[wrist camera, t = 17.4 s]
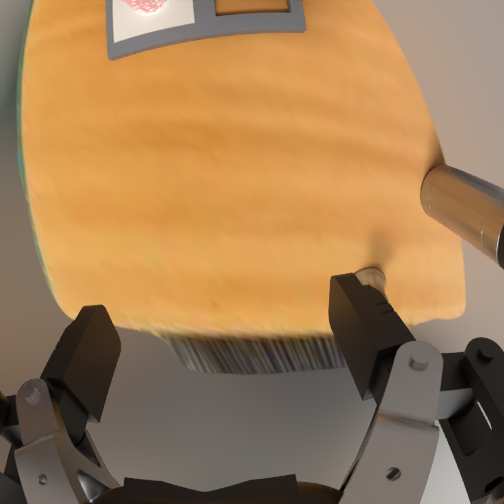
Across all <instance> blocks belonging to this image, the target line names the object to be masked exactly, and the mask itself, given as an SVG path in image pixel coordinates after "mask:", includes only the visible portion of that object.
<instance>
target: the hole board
mask: <svg viewBox="0 0 504 504" xmlns="http://www.w3.org/2000/svg"><path fill="white" fill-rule="evenodd" d="M287 6H288V12H289V13H285V12H277V13H248V14H235V15H225V16H216V14H215V5H214V0H169V2H168V4H167V6H166V7H165V8H164V9H163V10H161V11H159V12H158V13H156V14H152V15H141V14H139V13H137V12H136V11H134V10H133V9H132V8H131V7H129V6H128V5H127V4H125V3H124V2H123V1H121V0H106V29H107V48H108V59H110V60H112V61H113V60H116V59H119V58H122V57H126V56H129V55H132V54H136V53H140V52H143V51H147V50H151V49H155V48H159V47H164V46H168V45H173V44H178V43H183V42H188V41H194V40H200V39H206V38H214V37H221V36H230V35H241V34H255V33H286V32H291V33H303V32H304V31H306V24H305V17H304V11H303V6H302V0H287Z"/></svg>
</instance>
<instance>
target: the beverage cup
mask: <svg viewBox="0 0 504 504" xmlns="http://www.w3.org/2000/svg"><path fill="white" fill-rule="evenodd" d="M121 1H123V2H124V3H125V4H127V5H128V6H129V7H131V8H132V9H133V10H134V11H136V12H137V13H139V14H141V15H152V14H156V13H158V12H159V11H161V10H163V9H164V8H165V7H166V6H167V4H168V2H169V0H121Z"/></svg>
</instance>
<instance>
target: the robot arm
mask: <svg viewBox="0 0 504 504" xmlns="http://www.w3.org/2000/svg"><path fill="white" fill-rule="evenodd" d="M421 202H422V206H423V209H424V211H425V212H426V214H428V215H429V216H430V217H431V218H433V219H435V220H436V221H438V222H439V223H441V224H442V225H444V226H445V227H447V228H448V229H450V230H451V231H453V232H454V233H455V234H457V235H458V236H460V237H461V238H463V239H464V240H465V241H467V242H468V243H470V244H471V245H472V246H474V247H475V248H476V249H478V250H479V251H481V252H482V253H483V254H485V255H486V256H487V257H489V258H490V259H491V260H493V261H494V262H495V263H496V264H498V265H499V266H500V267H501V268H503V269H504V189H503V188H501V187H499V186H497V185H494V184H492V183H490V182H488V181H485V180H483V179H480V178H478V177H476V176H473V175H471V174H468V173H466V172H464V171H461V170H458V169H455V168H453V167H450V166H447V165H438V166H436V167H434V168H433V169H432V170H431V171H430V172H429V173H428V174H427V176H426V178H425V180H424V182H423V185H422V190H421ZM328 314H329V322H330V326H331V329H332V331H333V334H334V336H335V338H336V340H337V343H338V345H339V347H340V349H341V352H342V354H343V356H344V358H345V361H346V363H347V365H348V368H349V370H350V372H351V375H352V377H353V379H354V382H355V384H356V386H357V389H358V391H359V393H360V396H361V398H362V401H364V400H368V399H371V398H374V400H375V402H376V404H377V406H376V408H375V411H374V414H373V416H372V419H371V422H370V424H369V427H368V429H367V432H366V434H365V437H364V439H363V441H362V444H361V446H360V448H359V450H358V453H357V455H356V457H355V459H354V461H353V463H352V465H351V467H350V469H349V471H348V473H347V475H346V477H345V478H344V480H343V482H342V484H341V486H340V488H339V490H337V489H335V488H331V487H329V486H326V485H321V484H317V483H309V482H297V481H296V476H295V474H292V475H286V476H279V477H272V478H264V479H255V480H249V481H246V482H242V483H239V484H236V485H232V486H229V487H225V488H221V489H218V490H213V491H209V492H201V491H196V490H192V489H188V488H184V487H180V486H177V485H173V484H170V483H166V482H163V481H153V480H143V479H133V478H126V477H125V479H124V486H121V485H120V484H119V482H118V481H117V480H116V479H115V478H114V477H113V476H112V475H111V473H110V472H109V470H108V469H107V467H106V465H105V463H104V461H103V459H102V457H101V456H100V454H99V452H98V450H97V447H96V445H95V443H94V441H93V439H92V437H91V435H90V433H89V431H88V430H87V428H86V424H87V422H95V423H100V419H101V415H102V412H103V408H104V404H105V401H106V397H107V394H108V390H109V387H110V384H111V380H112V377H113V374H114V370H115V367H116V364H117V361H118V358H119V355H120V352H121V342H120V338H119V335H118V333H117V331H116V329H115V327H114V325H113V323H112V321H111V319H110V316H109V314H108V312H107V310H106V308H105V307H104V306H103V305H91V306H84V307H82V309H81V310H80V312H79V314H78V316H77V317H76V319H75V320H74V321H73V322H72V323H71V324H70V325H69V326H68V327H67V328H66V329H65V331H64V332H63V334H62V336H61V338H60V341H58V343H57V345H56V349H54V351H53V353H52V354H51V357H50V359H49V361H48V362H47V364H46V366H45V368H44V371H43V372H42V374H41V377H40V378H33V379H30V380H28V381H26V382H25V383H24V384H23V385H22V386H21V387H20V388H19V390H18V392H17V394H16V395H12V396H6V397H5V396H4V395H3V394H2V392H1V391H0V435H1V436H2V437H3V438H5V439H6V440H7V441H8V442H9V443H10V444H11V448H10V451H9V455H8V459H7V463H6V467H5V471H4V474H3V473H1V472H0V504H419V503H420V501H421V498H422V495H423V492H424V489H425V486H426V483H427V480H428V476H429V473H430V470H431V466H432V463H433V459H434V455H435V451H436V447H437V443H438V438H439V427H438V426H435V425H434V422H435V420H438V421H439V423H440V425H441V427H442V430H443V432H444V434H445V437H446V439H447V441H448V444H449V446H450V449H451V451H452V453H453V456H454V458H455V461H456V463H457V466H458V469H459V471H460V474H461V477H462V480H463V482H464V485H465V488H466V491H467V494H468V497H469V500H470V503H471V504H504V352H503V350H502V349H501V348H500V346H499V345H498V344H497V343H495V342H494V341H492V340H490V339H488V338H482V337H480V338H475V339H473V340H471V341H470V342H469V344H468V345H467V347H466V349H465V351H464V352H457V353H440V352H439V351H438V349H437V348H435V347H434V346H432V345H431V344H429V343H427V342H423V341H416V339H415V338H414V337H413V335H412V334H411V332H410V331H409V329H408V328H407V327H406V325H405V324H404V322H403V321H402V320H401V318H400V317H399V316H398V314H397V313H396V311H395V312H394V309H393V307H392V306H391V305H390V303H389V304H388V301H387V299H386V298H385V297H384V295H383V294H382V293H381V292H380V291H379V290H377V289H376V288H374V287H372V286H371V285H369V284H368V285H362V283H361V282H360V281H359V279H358V278H357V277H356V275H355V274H354V273H347V274H341V275H335V276H332V277H331V279H330V294H329V312H328ZM478 401H479V403H480V405H481V406H482V408H483V410H484V412H485V414H486V416H487V417H488V420H489V422H490V424H491V428H492V431H491V429H490V427H489V425H488V423H487V421H486V419H485V417H484V415H483V413H482V411H481V409H480V407H479V405H478V404H477V403H478Z"/></svg>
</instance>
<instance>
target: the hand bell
mask: <svg viewBox="0 0 504 504" xmlns="http://www.w3.org/2000/svg"><path fill="white" fill-rule="evenodd" d="M355 275H356V277H357V278H358V279H359V281H360V282H361V283H362V285H368V284H369V285H371V286H372V287H374V288H376V289H377V290H379V291H380V292H381V293H382V294H383V295H384V297H385V298H386V299H387V301H388V298H387V297H386V295H385V288H386V279H385V276H384V274H383V273H382V272H381V271H380V270H378V269H375V268H366V269H362V270H360V271H358V272H356V273H355ZM388 304H389V301H388Z"/></svg>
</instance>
